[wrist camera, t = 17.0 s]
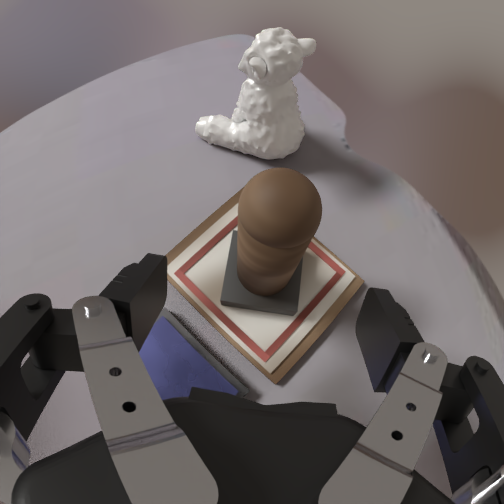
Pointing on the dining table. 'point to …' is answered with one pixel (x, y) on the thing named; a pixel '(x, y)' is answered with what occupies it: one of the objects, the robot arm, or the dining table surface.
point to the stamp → (271, 242)
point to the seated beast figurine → (264, 99)
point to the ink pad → (183, 362)
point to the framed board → (250, 321)
